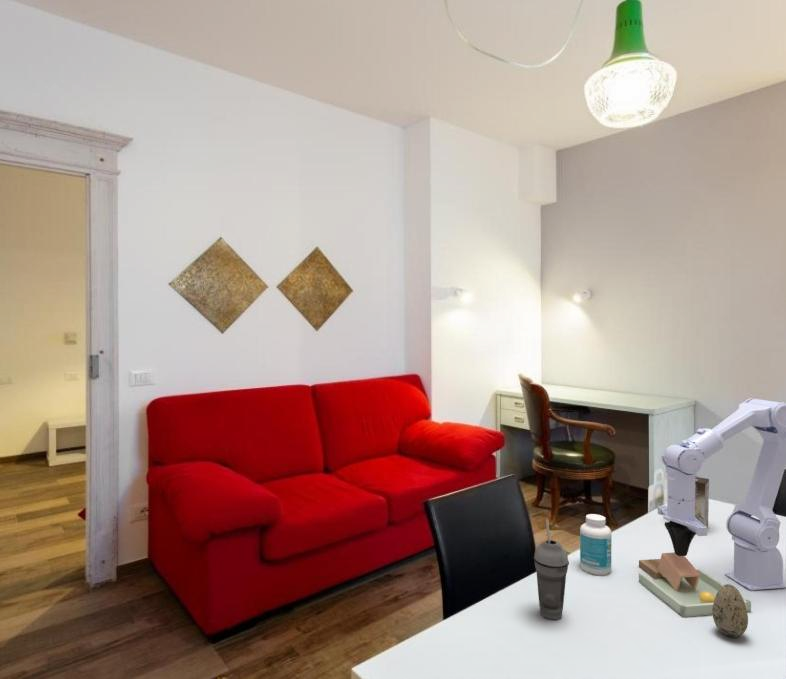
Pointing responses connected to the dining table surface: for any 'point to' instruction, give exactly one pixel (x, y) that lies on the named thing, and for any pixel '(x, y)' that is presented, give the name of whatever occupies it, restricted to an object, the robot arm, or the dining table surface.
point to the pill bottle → (595, 545)
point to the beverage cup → (551, 576)
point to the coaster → (651, 568)
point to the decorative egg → (730, 611)
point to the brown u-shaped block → (678, 570)
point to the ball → (706, 597)
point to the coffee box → (702, 500)
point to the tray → (686, 594)
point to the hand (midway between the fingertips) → (680, 554)
